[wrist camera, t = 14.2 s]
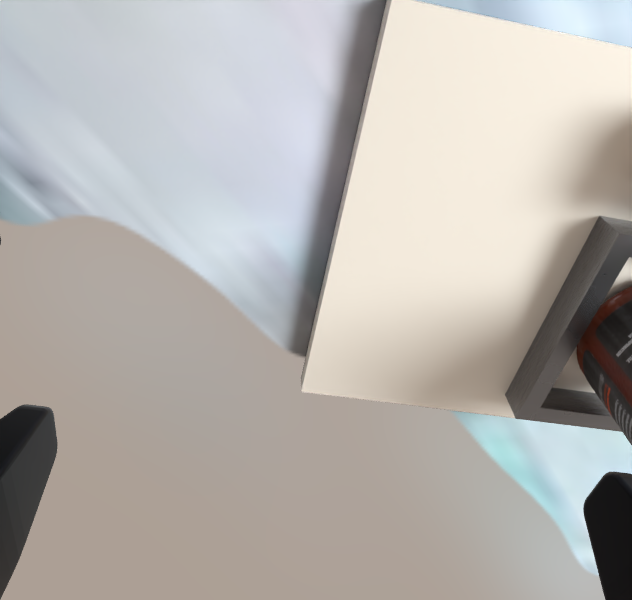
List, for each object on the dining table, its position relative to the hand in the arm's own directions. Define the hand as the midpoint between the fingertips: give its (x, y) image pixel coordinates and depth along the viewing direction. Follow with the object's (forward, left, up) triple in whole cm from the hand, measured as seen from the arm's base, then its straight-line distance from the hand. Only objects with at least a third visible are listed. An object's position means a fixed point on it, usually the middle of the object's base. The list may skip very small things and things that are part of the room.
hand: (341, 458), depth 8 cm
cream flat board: (+10, -2, -13) cm, 17 cm away
